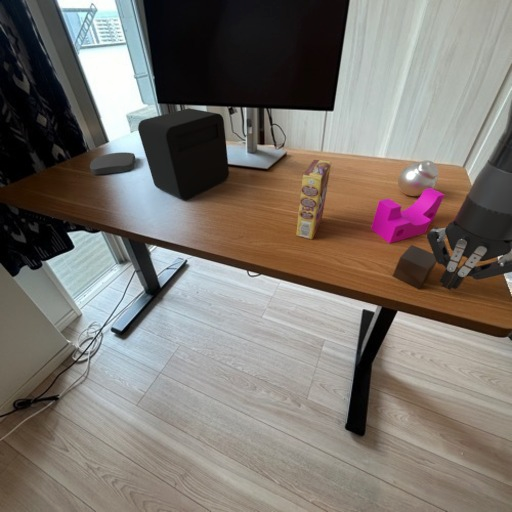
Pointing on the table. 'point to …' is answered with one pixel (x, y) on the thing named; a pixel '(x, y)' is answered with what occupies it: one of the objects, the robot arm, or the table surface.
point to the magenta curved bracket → (406, 217)
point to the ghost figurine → (418, 178)
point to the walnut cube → (415, 266)
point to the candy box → (312, 198)
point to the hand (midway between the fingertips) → (447, 285)
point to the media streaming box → (113, 163)
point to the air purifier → (185, 151)
